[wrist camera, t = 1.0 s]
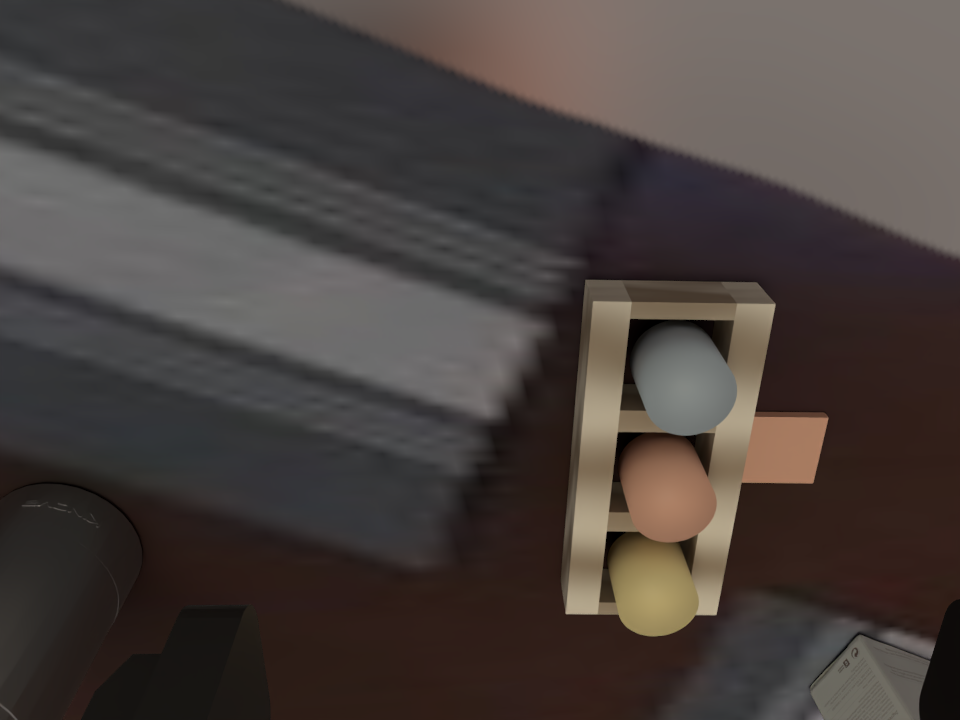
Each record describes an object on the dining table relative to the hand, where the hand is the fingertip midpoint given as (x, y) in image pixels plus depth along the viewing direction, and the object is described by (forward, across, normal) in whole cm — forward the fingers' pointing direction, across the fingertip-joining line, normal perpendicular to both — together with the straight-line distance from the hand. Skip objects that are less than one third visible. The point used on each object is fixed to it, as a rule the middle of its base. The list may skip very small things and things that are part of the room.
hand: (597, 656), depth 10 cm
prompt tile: (+34, -16, +18) cm, 42 cm away
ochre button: (+32, -9, +24) cm, 41 cm away
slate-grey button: (+32, -9, +11) cm, 35 cm away
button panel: (+34, -9, +18) cm, 39 cm away
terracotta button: (+32, -9, +18) cm, 37 cm away
